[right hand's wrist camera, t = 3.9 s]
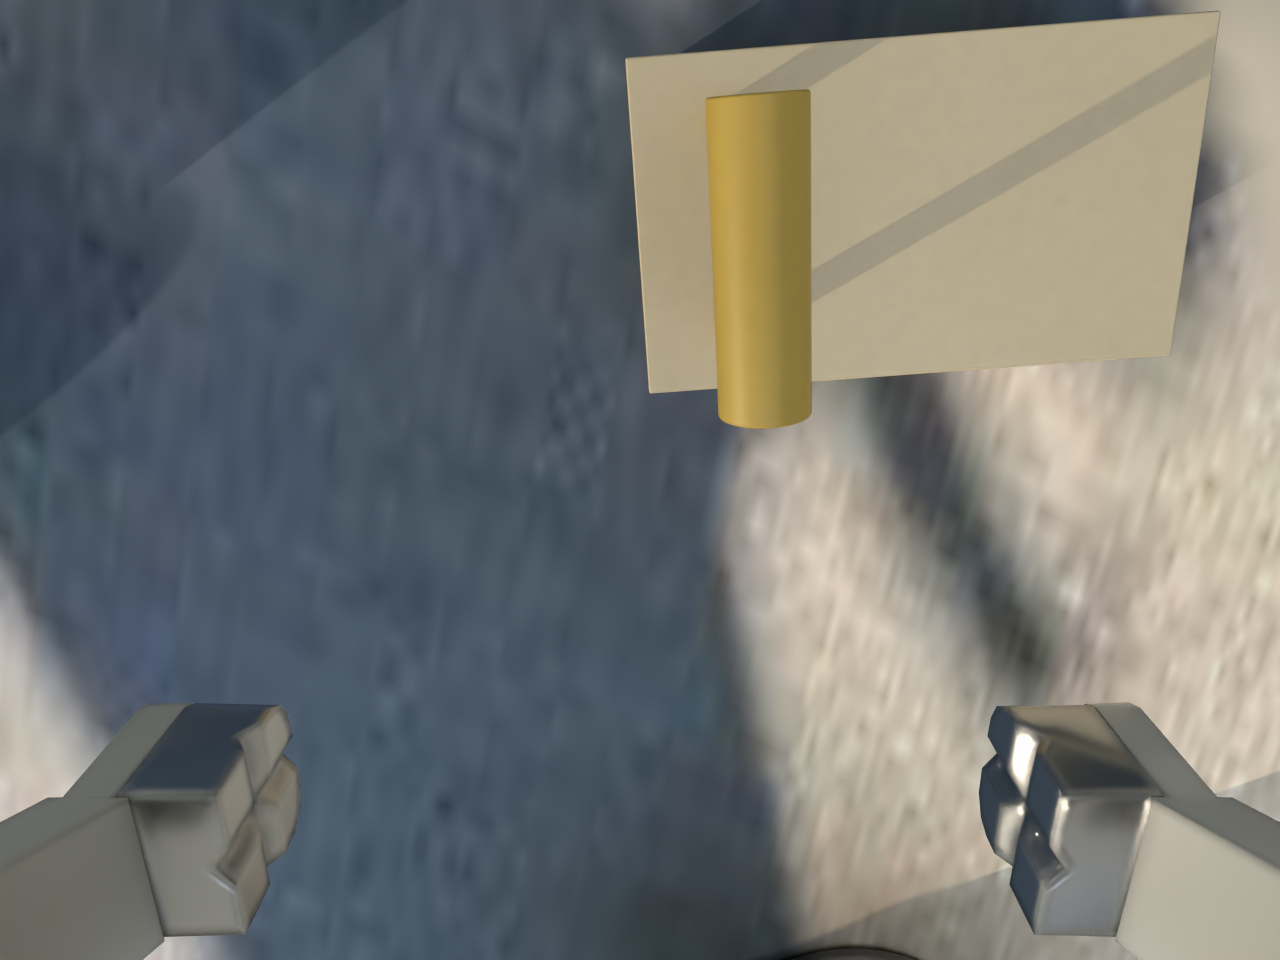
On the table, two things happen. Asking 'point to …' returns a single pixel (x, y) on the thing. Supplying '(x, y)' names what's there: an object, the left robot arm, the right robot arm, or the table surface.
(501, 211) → the table surface
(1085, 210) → the lid
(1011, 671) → the table surface
